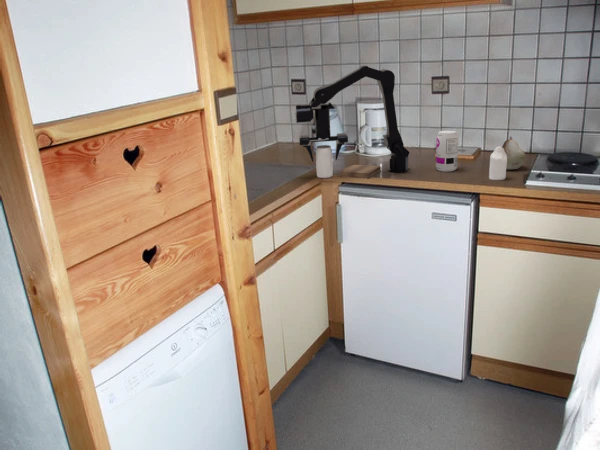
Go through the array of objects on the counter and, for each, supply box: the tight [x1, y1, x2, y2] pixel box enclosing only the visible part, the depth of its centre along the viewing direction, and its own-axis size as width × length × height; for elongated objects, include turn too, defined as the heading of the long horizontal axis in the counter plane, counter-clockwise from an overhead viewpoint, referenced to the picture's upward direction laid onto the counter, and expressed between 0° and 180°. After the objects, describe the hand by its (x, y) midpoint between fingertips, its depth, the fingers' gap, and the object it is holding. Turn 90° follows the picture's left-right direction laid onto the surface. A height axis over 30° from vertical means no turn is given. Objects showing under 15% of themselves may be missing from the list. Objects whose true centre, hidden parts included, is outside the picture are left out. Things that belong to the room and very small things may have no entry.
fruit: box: [501, 136, 526, 171], centre depth 210 cm, size 10×9×12 cm
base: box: [340, 164, 381, 179], centre depth 218 cm, size 12×12×2 cm
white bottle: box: [488, 145, 507, 181], centre depth 198 cm, size 6×12×6 cm
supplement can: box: [435, 129, 459, 173], centre depth 214 cm, size 8×8×15 cm
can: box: [315, 144, 334, 179], centre depth 216 cm, size 6×6×12 cm
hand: (324, 160), depth 215 cm, fingers open, 9 cm apart
